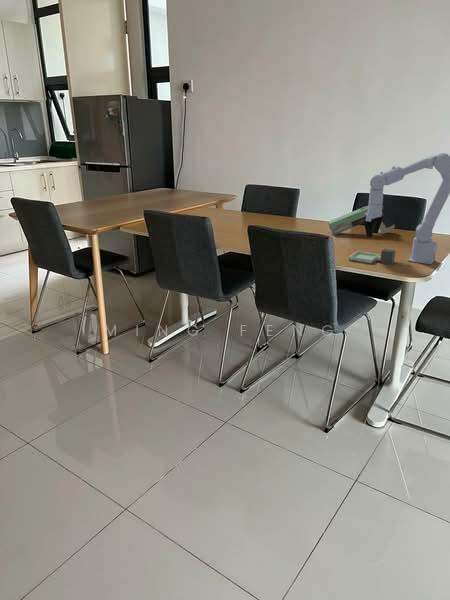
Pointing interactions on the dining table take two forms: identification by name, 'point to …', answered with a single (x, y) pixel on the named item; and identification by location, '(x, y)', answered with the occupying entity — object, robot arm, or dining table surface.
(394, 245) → the dining table surface
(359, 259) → the tray
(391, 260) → the plug
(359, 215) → the long mint green beam
